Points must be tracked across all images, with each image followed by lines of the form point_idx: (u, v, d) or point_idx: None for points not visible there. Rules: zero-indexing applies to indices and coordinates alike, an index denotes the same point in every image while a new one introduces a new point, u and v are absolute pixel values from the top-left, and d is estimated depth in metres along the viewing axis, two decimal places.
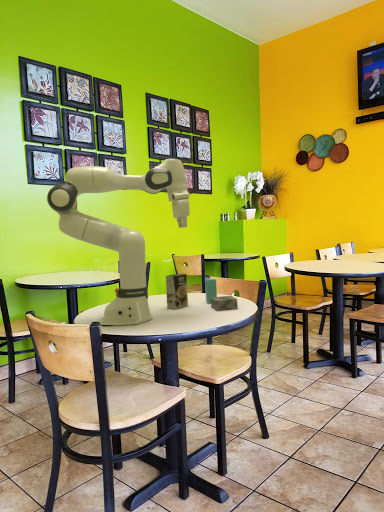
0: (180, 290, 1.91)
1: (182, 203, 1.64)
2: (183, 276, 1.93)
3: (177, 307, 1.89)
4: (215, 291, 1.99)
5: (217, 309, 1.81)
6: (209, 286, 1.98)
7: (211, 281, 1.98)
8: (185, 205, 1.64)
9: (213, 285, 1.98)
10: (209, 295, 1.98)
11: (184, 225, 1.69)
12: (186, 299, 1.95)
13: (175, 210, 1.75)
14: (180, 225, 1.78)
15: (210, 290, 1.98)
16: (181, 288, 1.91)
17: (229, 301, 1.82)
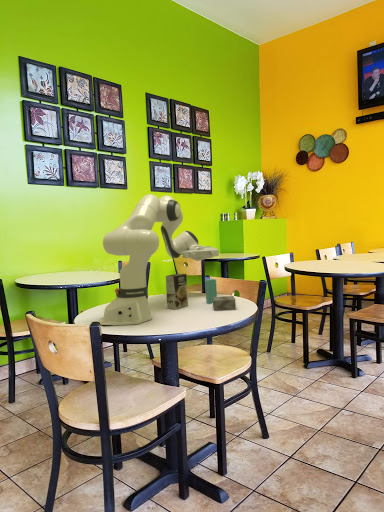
0: (180, 290, 1.91)
1: None
2: (183, 276, 1.93)
3: (177, 307, 1.89)
4: (215, 291, 1.99)
5: (214, 309, 1.82)
6: (209, 286, 1.98)
7: (211, 281, 1.98)
8: None
9: (213, 285, 1.98)
10: (209, 295, 1.98)
11: None
12: (186, 299, 1.95)
13: (196, 250, 2.18)
14: None
15: (210, 290, 1.98)
16: (181, 288, 1.91)
17: (227, 301, 1.82)
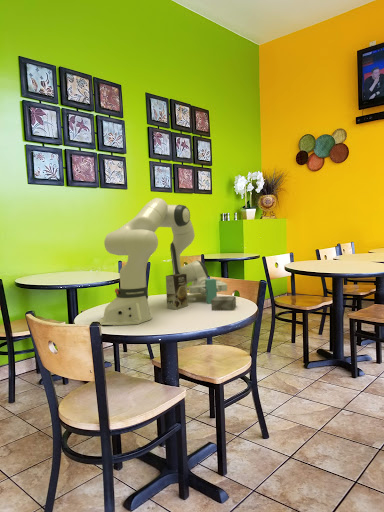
0: (180, 290, 1.91)
1: None
2: (183, 276, 1.93)
3: (177, 307, 1.89)
4: (215, 291, 1.99)
5: (212, 308, 1.83)
6: (209, 286, 1.98)
7: (211, 281, 1.98)
8: None
9: (213, 285, 1.98)
10: (209, 295, 1.98)
11: None
12: (186, 299, 1.95)
13: (203, 285, 2.07)
14: None
15: (210, 290, 1.98)
16: (181, 288, 1.91)
17: (224, 301, 1.81)
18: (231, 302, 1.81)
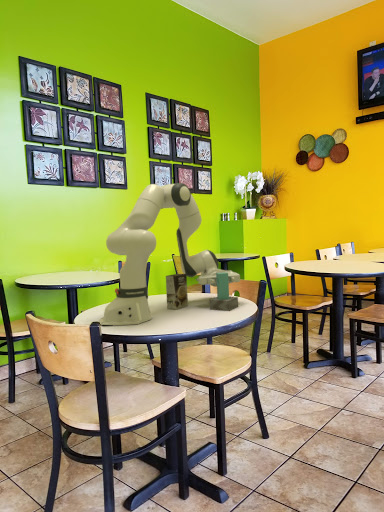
0: (180, 290, 1.91)
1: None
2: (183, 276, 1.93)
3: (177, 307, 1.89)
4: (227, 286, 1.84)
5: (210, 308, 1.85)
6: (221, 280, 1.83)
7: (223, 275, 1.83)
8: None
9: (225, 279, 1.84)
10: (221, 290, 1.84)
11: None
12: (186, 299, 1.95)
13: (214, 275, 1.92)
14: None
15: (222, 284, 1.84)
16: (181, 288, 1.91)
17: (221, 302, 1.82)
18: (227, 303, 1.80)
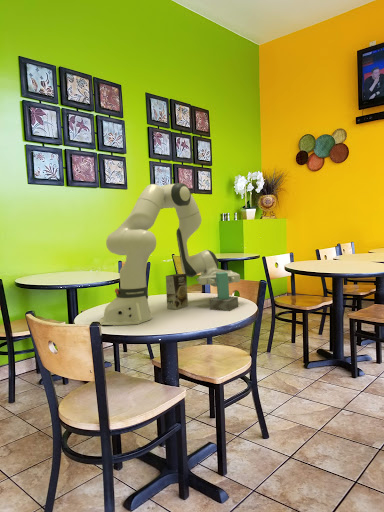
0: (180, 290, 1.91)
1: None
2: (183, 276, 1.93)
3: (177, 307, 1.89)
4: (227, 285, 1.84)
5: (210, 308, 1.85)
6: (220, 280, 1.83)
7: (222, 275, 1.83)
8: None
9: (225, 279, 1.83)
10: (221, 290, 1.84)
11: None
12: (186, 299, 1.95)
13: (214, 275, 1.92)
14: None
15: (221, 284, 1.83)
16: (181, 288, 1.91)
17: (221, 302, 1.82)
18: (227, 303, 1.80)
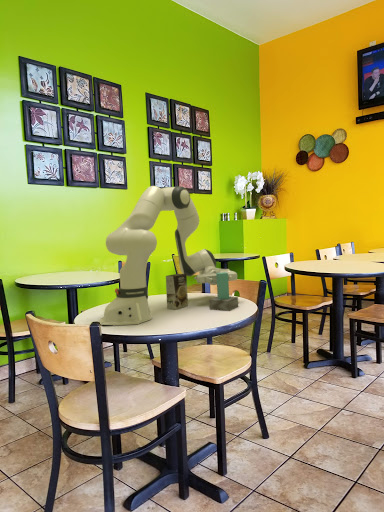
0: (180, 290, 1.91)
1: None
2: (183, 276, 1.93)
3: (177, 307, 1.89)
4: (227, 286, 1.84)
5: (210, 308, 1.85)
6: (220, 280, 1.83)
7: (223, 275, 1.83)
8: None
9: (225, 279, 1.84)
10: (221, 290, 1.84)
11: None
12: (186, 299, 1.95)
13: (212, 274, 1.97)
14: None
15: (222, 284, 1.83)
16: (181, 288, 1.91)
17: (221, 302, 1.82)
18: (227, 303, 1.80)
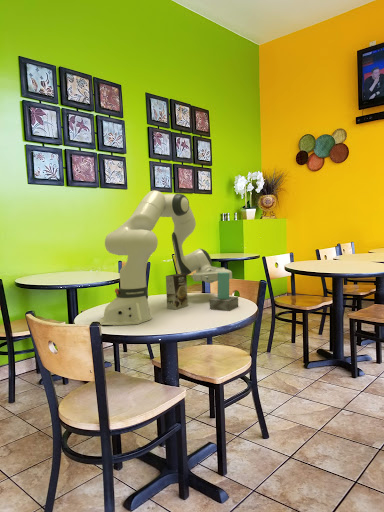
0: (180, 290, 1.91)
1: None
2: (183, 276, 1.93)
3: (177, 307, 1.89)
4: (228, 286, 1.84)
5: (210, 308, 1.85)
6: (221, 280, 1.83)
7: (224, 275, 1.83)
8: None
9: (226, 279, 1.84)
10: (221, 290, 1.84)
11: None
12: (186, 299, 1.95)
13: (208, 272, 2.05)
14: None
15: (222, 284, 1.84)
16: (181, 288, 1.91)
17: (221, 302, 1.82)
18: (227, 303, 1.80)
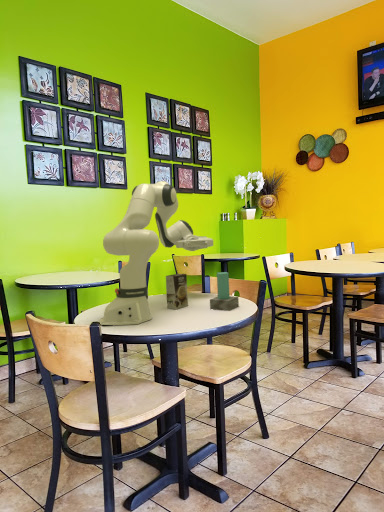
0: (180, 290, 1.91)
1: None
2: (183, 276, 1.93)
3: (177, 307, 1.89)
4: (227, 285, 1.84)
5: (211, 308, 1.85)
6: (221, 280, 1.84)
7: (223, 275, 1.84)
8: None
9: (225, 279, 1.84)
10: (221, 290, 1.84)
11: None
12: (186, 299, 1.95)
13: None
14: None
15: (222, 284, 1.84)
16: (181, 288, 1.91)
17: (221, 302, 1.82)
18: (227, 302, 1.80)
